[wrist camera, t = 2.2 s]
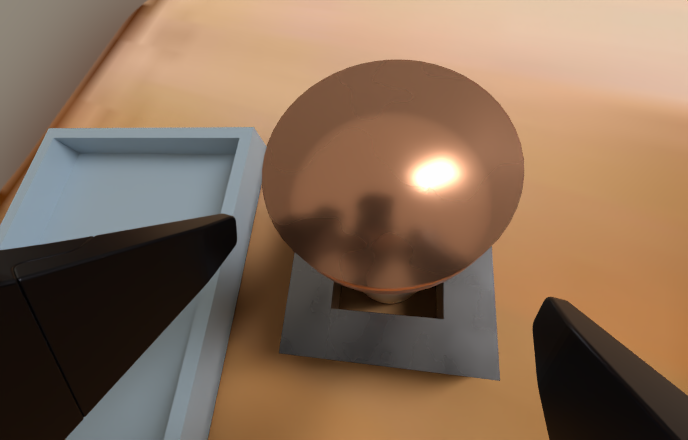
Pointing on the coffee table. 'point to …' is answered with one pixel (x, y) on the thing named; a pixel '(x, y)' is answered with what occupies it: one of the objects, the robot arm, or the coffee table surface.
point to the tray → (141, 211)
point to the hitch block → (397, 325)
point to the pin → (393, 176)
